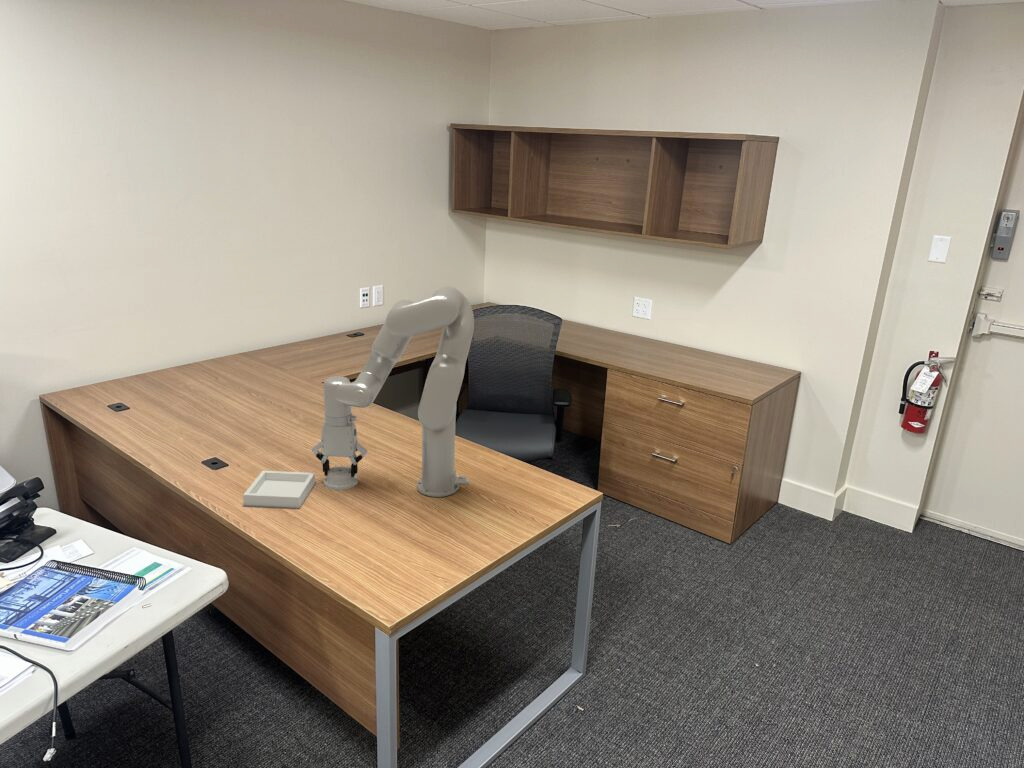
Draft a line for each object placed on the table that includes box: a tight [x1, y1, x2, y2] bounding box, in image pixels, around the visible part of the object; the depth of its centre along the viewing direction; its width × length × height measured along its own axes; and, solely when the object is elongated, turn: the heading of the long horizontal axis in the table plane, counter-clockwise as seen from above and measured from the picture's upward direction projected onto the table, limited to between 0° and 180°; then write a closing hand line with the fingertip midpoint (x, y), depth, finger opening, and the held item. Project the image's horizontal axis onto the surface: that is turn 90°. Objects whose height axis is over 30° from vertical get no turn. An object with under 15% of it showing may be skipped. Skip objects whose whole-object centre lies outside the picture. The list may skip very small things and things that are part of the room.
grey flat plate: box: [242, 481, 317, 510], centre depth 205 cm, size 16×17×1 cm
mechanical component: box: [323, 465, 359, 491], centre depth 212 cm, size 10×4×10 cm
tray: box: [242, 470, 316, 509], centre depth 204 cm, size 15×15×3 cm
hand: (340, 474), depth 212 cm, fingers closed on mechanical component, 7 cm apart
